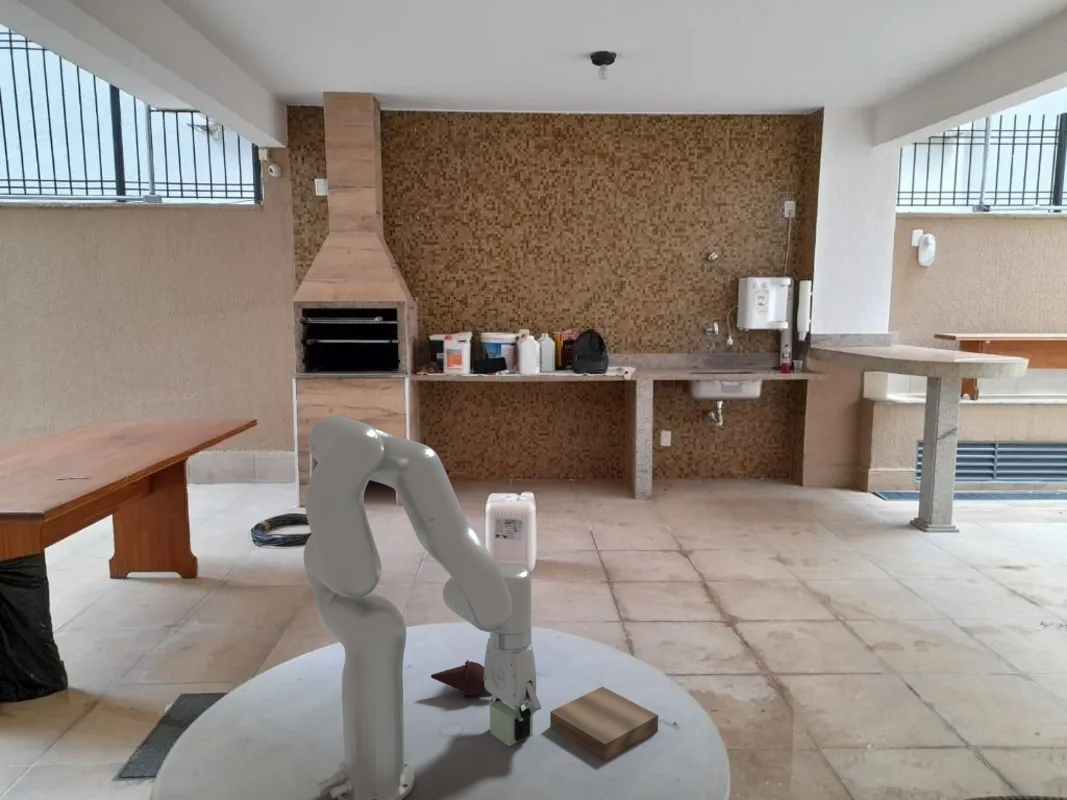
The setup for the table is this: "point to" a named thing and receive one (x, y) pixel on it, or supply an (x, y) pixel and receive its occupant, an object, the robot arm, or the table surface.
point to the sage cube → (505, 722)
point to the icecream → (464, 678)
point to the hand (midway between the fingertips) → (511, 729)
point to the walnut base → (604, 722)
